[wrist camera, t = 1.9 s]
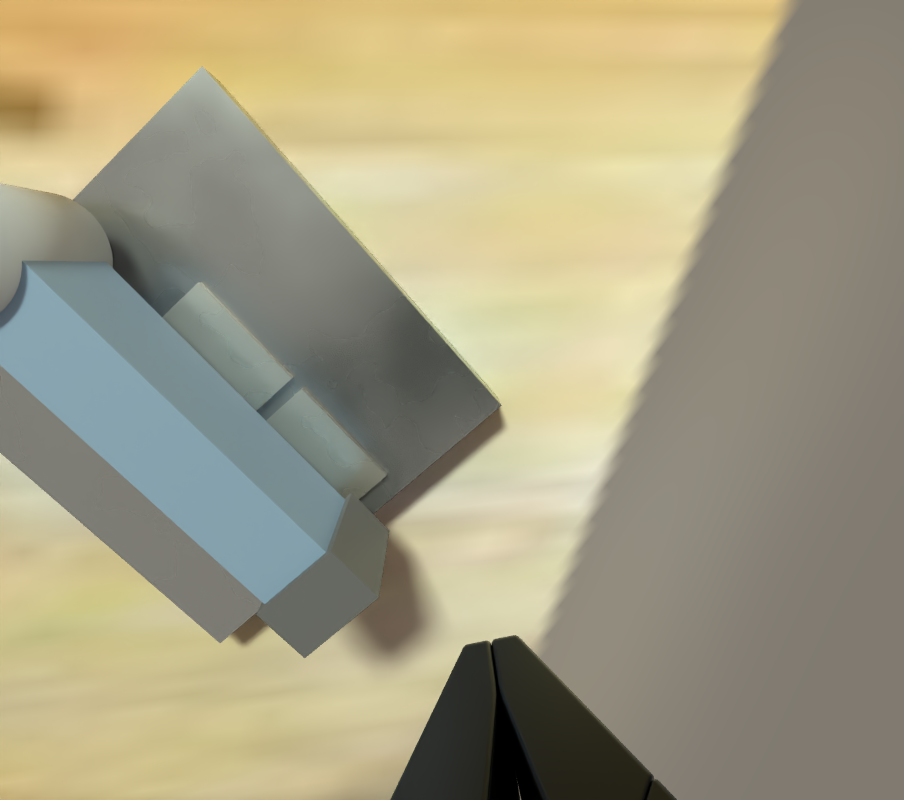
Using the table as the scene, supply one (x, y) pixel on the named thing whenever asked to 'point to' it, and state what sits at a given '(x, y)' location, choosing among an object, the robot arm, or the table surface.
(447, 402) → the lid
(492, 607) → the table surface
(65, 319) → the lever
